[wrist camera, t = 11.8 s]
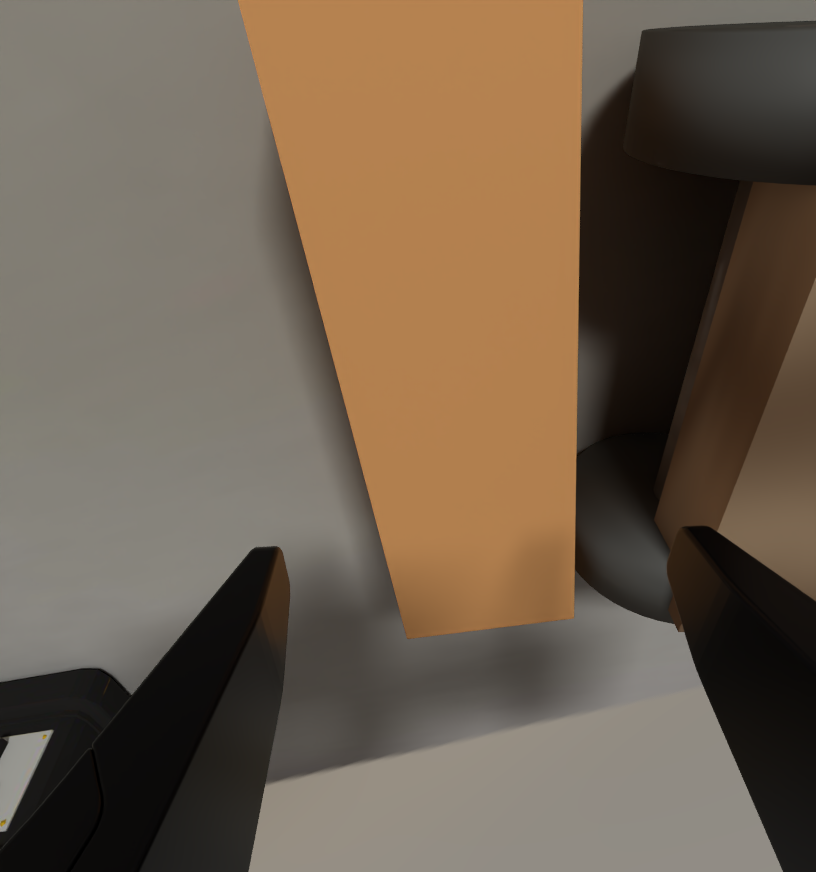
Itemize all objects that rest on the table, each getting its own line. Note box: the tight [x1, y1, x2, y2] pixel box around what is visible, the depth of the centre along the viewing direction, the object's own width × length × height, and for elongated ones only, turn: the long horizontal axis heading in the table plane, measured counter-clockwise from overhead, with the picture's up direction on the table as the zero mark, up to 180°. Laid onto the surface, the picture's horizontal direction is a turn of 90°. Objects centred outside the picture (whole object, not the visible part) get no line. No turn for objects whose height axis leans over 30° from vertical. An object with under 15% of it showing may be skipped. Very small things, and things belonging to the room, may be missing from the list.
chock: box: [238, 0, 583, 639], centre depth 15 cm, size 5×16×5 cm, turn 9°
